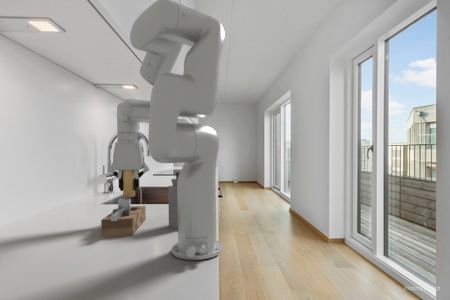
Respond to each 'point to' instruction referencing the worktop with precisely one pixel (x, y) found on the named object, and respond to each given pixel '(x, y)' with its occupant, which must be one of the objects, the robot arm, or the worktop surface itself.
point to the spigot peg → (128, 183)
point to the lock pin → (121, 209)
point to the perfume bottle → (173, 203)
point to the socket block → (124, 222)
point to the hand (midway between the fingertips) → (129, 189)
